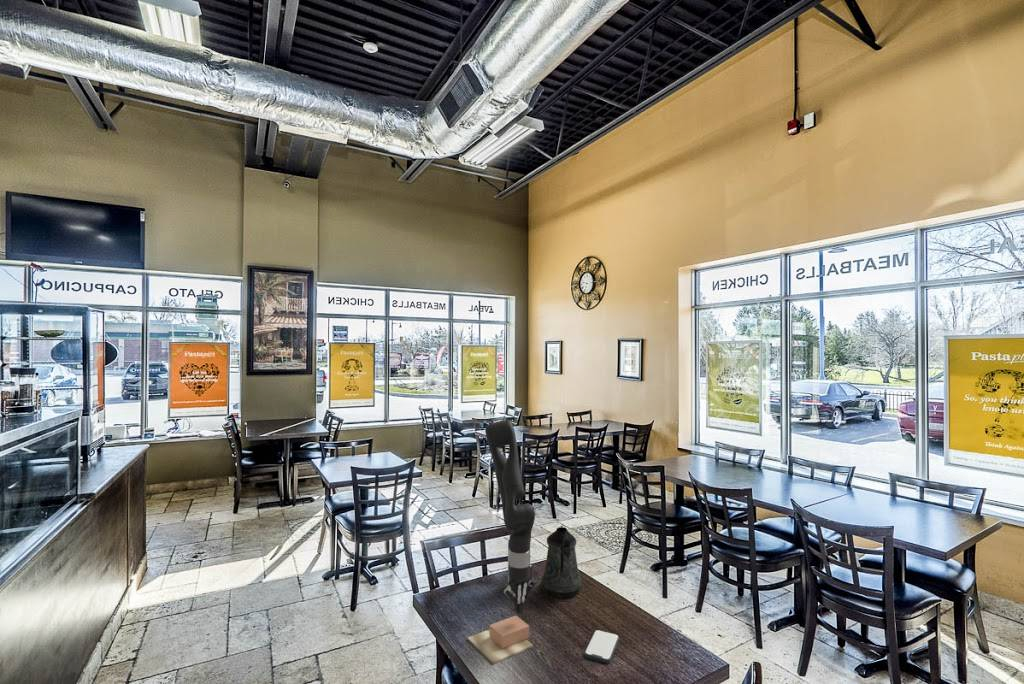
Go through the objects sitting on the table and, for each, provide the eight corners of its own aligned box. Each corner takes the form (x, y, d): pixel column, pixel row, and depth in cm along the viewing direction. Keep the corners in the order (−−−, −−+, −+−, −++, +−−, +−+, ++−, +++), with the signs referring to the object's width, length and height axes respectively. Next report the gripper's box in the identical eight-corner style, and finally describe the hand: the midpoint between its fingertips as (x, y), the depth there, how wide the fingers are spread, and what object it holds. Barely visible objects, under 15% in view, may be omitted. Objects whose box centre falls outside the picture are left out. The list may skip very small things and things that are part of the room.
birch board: (506, 624, 177) (506, 622, 177) (533, 647, 164) (533, 645, 164) (467, 639, 168) (467, 637, 168) (492, 664, 155) (492, 662, 155)
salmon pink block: (515, 615, 175) (489, 625, 168) (529, 625, 168) (502, 636, 162) (515, 627, 174) (489, 637, 168) (529, 638, 168) (502, 649, 162)
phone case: (595, 633, 173) (582, 658, 159) (595, 628, 173) (582, 653, 159) (620, 639, 170) (610, 665, 155) (620, 635, 170) (610, 660, 155)
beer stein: (563, 575, 216) (564, 518, 216) (594, 594, 200) (595, 532, 200) (533, 585, 206) (534, 526, 207) (563, 606, 190) (564, 541, 191)
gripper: (528, 554, 177) (527, 602, 177) (497, 563, 170) (497, 613, 170) (541, 561, 171) (540, 611, 171) (510, 571, 164) (509, 623, 163)
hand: (518, 612), depth 170 cm, fingers closed
